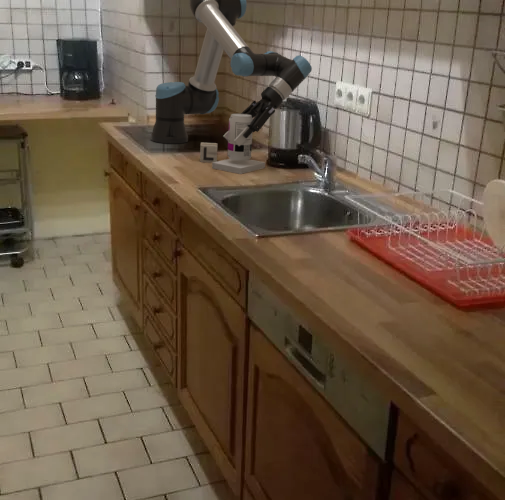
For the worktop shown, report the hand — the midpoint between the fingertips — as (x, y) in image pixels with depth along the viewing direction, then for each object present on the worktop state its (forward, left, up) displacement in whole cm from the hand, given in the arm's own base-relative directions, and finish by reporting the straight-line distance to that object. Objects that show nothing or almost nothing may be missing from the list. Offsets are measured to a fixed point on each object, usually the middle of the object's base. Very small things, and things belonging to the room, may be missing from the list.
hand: (231, 141), depth 232 cm
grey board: (-3, +2, -10) cm, 10 cm away
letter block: (-5, -13, -10) cm, 17 cm away
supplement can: (-3, +2, -6) cm, 7 cm away
